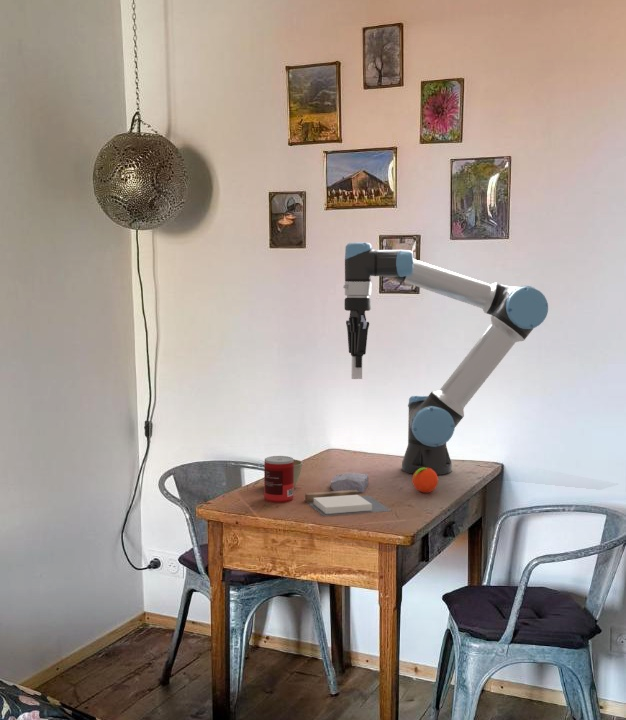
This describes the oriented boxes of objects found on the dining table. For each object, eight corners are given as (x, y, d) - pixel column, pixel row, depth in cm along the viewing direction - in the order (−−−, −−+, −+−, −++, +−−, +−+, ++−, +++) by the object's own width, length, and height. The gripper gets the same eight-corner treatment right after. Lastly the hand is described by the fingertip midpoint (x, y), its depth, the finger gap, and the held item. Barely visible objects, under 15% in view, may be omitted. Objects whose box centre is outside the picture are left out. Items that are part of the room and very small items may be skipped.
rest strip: (355, 497, 219) (355, 489, 219) (358, 499, 217) (358, 491, 217) (305, 500, 215) (305, 493, 215) (307, 502, 213) (307, 495, 213)
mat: (368, 496, 221) (368, 495, 221) (392, 511, 206) (392, 510, 206) (304, 501, 216) (304, 500, 216) (323, 517, 201) (323, 516, 201)
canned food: (291, 495, 222) (291, 455, 221) (295, 503, 214) (295, 461, 213) (262, 496, 220) (262, 456, 219) (266, 504, 212) (266, 462, 212)
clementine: (423, 497, 221) (424, 471, 220) (404, 492, 226) (404, 466, 225) (443, 492, 226) (443, 467, 226) (423, 488, 231) (424, 463, 231)
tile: (357, 494, 215) (371, 504, 205) (357, 501, 215) (371, 511, 206) (313, 497, 211) (325, 507, 202) (313, 504, 212) (325, 514, 202)
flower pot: (268, 483, 236) (268, 458, 235) (303, 483, 236) (303, 458, 235) (264, 491, 226) (264, 465, 226) (301, 492, 226) (301, 466, 225)
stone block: (330, 499, 226) (366, 493, 224) (327, 482, 226) (363, 476, 224) (336, 490, 238) (370, 485, 236) (333, 474, 238) (367, 468, 236)
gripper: (337, 296, 243) (337, 376, 245) (353, 297, 231) (352, 381, 233) (361, 296, 245) (361, 376, 247) (378, 297, 233) (377, 380, 235)
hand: (356, 378), depth 240 cm, fingers closed
